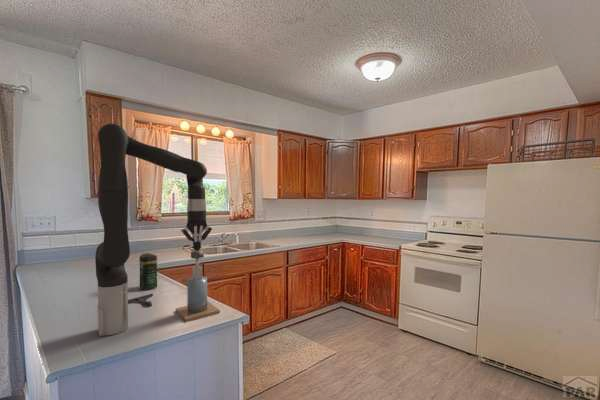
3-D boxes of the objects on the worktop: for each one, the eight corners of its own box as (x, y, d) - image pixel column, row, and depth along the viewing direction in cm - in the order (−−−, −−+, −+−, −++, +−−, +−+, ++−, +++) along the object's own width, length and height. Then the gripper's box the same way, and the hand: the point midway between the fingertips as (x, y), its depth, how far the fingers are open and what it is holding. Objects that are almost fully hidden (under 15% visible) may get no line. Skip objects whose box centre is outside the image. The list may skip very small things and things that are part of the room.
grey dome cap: (196, 272, 117) (196, 254, 116) (189, 268, 123) (189, 251, 123) (208, 270, 120) (208, 252, 120) (200, 266, 126) (200, 250, 126)
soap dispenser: (185, 322, 113) (185, 273, 113) (175, 311, 124) (175, 266, 124) (219, 312, 122) (219, 267, 122) (207, 303, 133) (207, 262, 133)
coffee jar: (159, 288, 155) (159, 254, 155) (143, 291, 150) (143, 256, 150) (153, 284, 162) (153, 251, 162) (137, 287, 157) (137, 253, 157)
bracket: (133, 313, 124) (133, 306, 124) (119, 305, 133) (119, 299, 133) (166, 303, 135) (166, 297, 135) (151, 296, 144) (151, 291, 144)
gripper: (183, 210, 115) (183, 253, 116) (215, 209, 124) (215, 249, 124) (177, 209, 121) (178, 251, 121) (208, 209, 130) (208, 247, 130)
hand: (197, 250), depth 123 cm, fingers closed
